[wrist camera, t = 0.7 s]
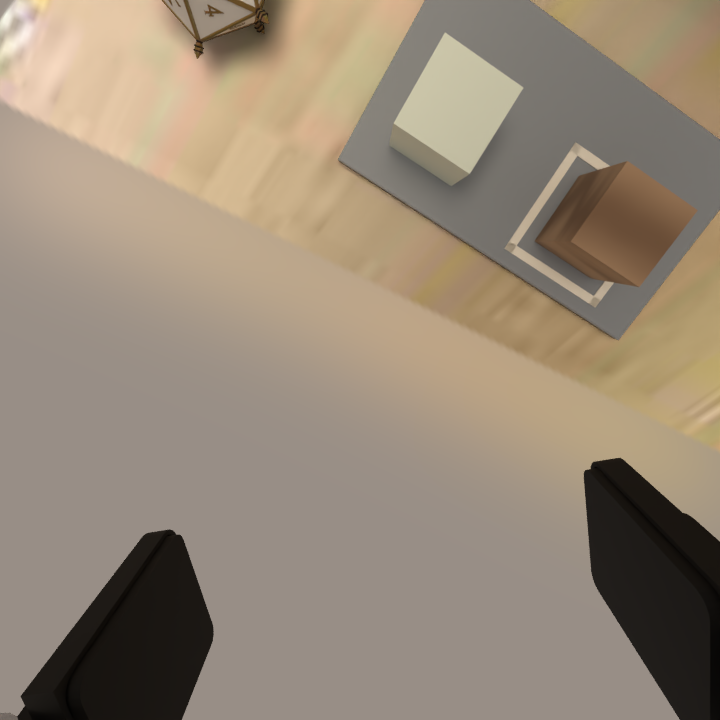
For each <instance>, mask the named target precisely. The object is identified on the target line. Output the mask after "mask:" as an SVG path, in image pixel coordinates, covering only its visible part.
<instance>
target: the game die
mask: <svg viewBox="0 0 720 720" xmlns="http://www.w3.org/2000/svg"><path fill="white" fill-rule="evenodd" d="M162 1H163V2H164V4H165V5H166V6H167V7H168V8H169V9H170V10H171V12H172V13H173V14H174V15H175V16H176V17H177V18H178V19H179V21H180V22H181V23H182V24H183V25H184V26H185V27H186V29H187V30H188V31H189V32H190V33H191V34H192V35H193V37H194V38H195V39H196V41H197V42H196V44H195V45H194V46H195V49H194V51H195V54H196V57H197V59H198V58H199V56H200V55H201V54H202V53H203V49H204V48H203V46H202V43H203V42H205V41H208V40H211V39H213V38H216V37H219V36H222V35H225V34H227V33H230V32H233V31H236V30H239V29H241V28H244V27H247V26H250V25H253V24H254V25H255V29H257V32H261V33H264V25H263V24H264V23H268V24H269V21H268V13H265V10H262V7H263V4H264V1H265V0H162ZM258 19H260V21H258ZM261 22H262V23H263V24H262V23H261Z"/></svg>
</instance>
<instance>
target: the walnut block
mask: <svg viewBox="0 0 720 720" xmlns="http://www.w3.org/2000/svg"><path fill="white" fill-rule="evenodd" d="M697 211H698V210H697V209H695V208H694V207H692V206H691V205H690V204H688V203H687V202H685V201H684V200H682V199H681V198H680V197H678V196H677V195H675V194H674V193H672V192H671V191H670V190H668V189H667V188H665V187H664V186H663V185H661V184H660V183H658V182H657V181H655V180H654V179H653V178H651V177H650V176H648V175H647V174H645V173H644V172H643V171H641V170H640V169H638V168H637V167H636V166H634V165H633V164H631V163H630V162H628V161H626V162H622V163H619V164H616V165H612V166H609V167H606V168H603V169H599V170H596V171H593V172H590V173H586V174H583V175H580V176H579V177H578V178H577V180H576V181H575V182H574V184H573V185H572V187H571V188H570V190H569V191H568V193H567V194H566V196H565V197H564V199H563V200H562V201H561V203H560V204H559V206H558V207H557V209H556V210H555V212H554V213H553V215H552V216H551V218H550V219H549V220H548V222H547V223H546V225H545V226H544V228H543V229H542V231H541V232H540V234H539V235H538V237H537V238H536V239H535V242H536V243H538V244H539V245H541V246H542V247H544V248H546V249H547V250H549V251H550V252H552V253H553V254H555V255H556V256H558V257H559V258H561V259H562V260H564V261H565V262H567V263H568V264H570V265H571V266H573V267H574V268H576V269H577V270H579V271H580V272H582V273H583V274H585V275H586V276H588V277H590V278H591V279H596V280H602V281H607V282H613V283H619V284H624V285H630V286H636V287H640V286H641V284H642V283H643V282H644V280H645V279H646V278H647V276H648V275H649V274H650V272H651V271H652V270H653V269H654V267H655V266H656V265H657V263H658V262H659V261H660V259H661V258H662V257H663V255H664V254H665V253H666V251H667V250H668V249H669V248H670V246H671V245H672V244H673V242H674V241H675V240H676V238H677V237H678V236H679V234H680V233H681V232H682V230H683V229H684V228H685V227H686V225H687V224H688V223H689V221H690V220H691V219H692V217H693V216H694V215H695V213H696V212H697Z"/></svg>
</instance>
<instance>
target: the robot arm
mask: <svg viewBox="0 0 720 720" xmlns="http://www.w3.org/2000/svg"><path fill="white" fill-rule="evenodd" d="M584 484H585V497H586V510H587V522H588V535H589V547H590V560H591V572H592V576H593V580H594V583H595V585H596V587H597V589H598V591H599V592H600V594H601V595H602V597H603V599H604V600H605V602H606V604H607V605H608V607H609V608H610V610H611V611H612V613H613V615H614V616H615V618H616V619H617V621H618V623H619V624H620V626H621V627H622V629H623V630H624V632H625V634H626V635H627V637H628V638H629V640H630V641H631V643H632V645H633V646H634V648H635V649H636V651H637V652H638V654H639V656H640V657H641V659H642V660H643V662H644V664H645V665H646V667H647V668H648V670H649V671H650V673H651V675H652V676H653V678H654V679H655V681H656V683H657V684H658V686H659V687H660V689H661V690H662V692H663V694H664V695H665V697H666V698H667V700H668V701H669V703H670V705H671V706H672V708H673V709H674V711H675V713H676V714H677V716H678V717H679V719H680V720H720V542H719V541H718V540H717V539H716V538H715V537H714V536H713V535H712V534H711V533H709V532H708V531H707V530H706V529H705V528H704V527H702V526H701V525H700V524H699V523H698V522H697V521H696V520H695V519H693V518H692V517H691V516H689V515H687V514H685V513H682V512H681V511H680V510H679V509H678V508H677V507H675V506H674V505H673V504H672V503H671V502H670V501H669V500H668V499H667V498H665V497H664V496H663V495H662V494H661V493H660V492H659V491H658V490H656V489H655V488H654V487H653V486H652V485H651V484H650V483H649V482H648V481H646V480H645V479H644V478H643V477H642V476H641V475H640V474H639V473H638V472H636V471H635V470H634V469H633V468H632V467H631V466H630V465H629V464H627V463H626V462H625V461H624V460H623V459H621V458H615V459H609V460H603V461H597V462H593V463H592V465H591V469H589V470H585V472H584ZM212 641H213V624H212V621H211V618H210V615H209V612H208V610H207V607H206V604H205V601H204V598H203V595H202V592H201V589H200V586H199V583H198V580H197V578H196V575H195V572H194V569H193V566H192V563H191V560H190V557H189V554H188V551H187V549H186V546H185V543H184V540H183V538H182V536H181V535H176V534H175V532H174V531H173V530H164V531H157V532H151V533H147V534H145V535H144V536H143V537H142V538H141V539H140V541H139V542H138V543H137V545H136V546H135V547H134V549H133V550H132V551H131V553H130V554H129V555H128V557H127V558H126V559H125V560H124V562H123V563H122V564H121V566H120V567H119V568H118V570H117V571H116V572H115V573H114V575H113V576H112V577H111V579H110V580H109V581H108V583H107V584H106V585H105V587H104V588H103V589H102V591H101V592H100V593H99V594H98V596H97V597H96V598H95V600H94V601H93V602H92V604H91V605H90V606H89V608H88V609H87V610H86V612H85V613H84V614H83V615H82V617H81V618H80V619H79V621H78V622H77V623H76V625H75V626H74V627H73V628H72V630H71V631H70V632H69V634H68V635H67V636H66V638H65V639H64V640H63V642H62V643H61V644H60V645H59V647H58V649H56V651H55V652H54V653H53V655H52V656H51V657H50V659H49V660H48V661H47V663H46V664H45V665H44V667H43V668H42V669H41V670H40V672H39V673H38V674H37V676H36V677H35V678H34V680H33V681H32V682H31V683H30V685H29V686H28V687H27V689H26V690H25V692H24V693H23V694H22V695H21V698H22V700H23V702H24V704H25V707H24V708H23V710H22V711H21V712H20V714H19V715H18V716H15V715H13V714H11V713H0V720H182V717H183V715H184V713H185V710H186V707H187V705H188V702H189V700H190V697H191V695H192V692H193V690H194V687H195V684H196V682H197V680H198V677H199V675H200V672H201V669H202V667H203V664H204V662H205V659H206V657H207V654H208V652H209V649H210V647H211V644H212Z"/></svg>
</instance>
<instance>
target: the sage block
mask: <svg viewBox="0 0 720 720" xmlns="http://www.w3.org/2000/svg"><path fill="white" fill-rule="evenodd" d="M522 89H523V87H522V86H521V85H519V84H518V83H516V82H515V81H513V80H512V79H511V78H509V77H508V76H506V75H505V74H503V73H502V72H501V71H499V70H498V69H496V68H495V67H494V66H492V65H491V64H489V63H488V62H486V61H485V60H484V59H482V58H481V57H479V56H478V55H476V54H475V53H474V52H472V51H471V50H469V49H468V48H467V47H465V46H464V45H462V44H461V43H459V42H458V41H457V40H455V39H454V38H452V37H451V36H450V35H448V34H447V33H444V35H443V37H442V39H441V40H440V42H439V44H438V46H437V47H436V49H435V51H434V53H433V54H432V56H431V58H430V60H429V62H428V63H427V65H426V67H425V69H424V70H423V72H422V74H421V76H420V77H419V79H418V81H417V83H416V84H415V86H414V88H413V90H412V92H411V93H410V95H409V97H408V99H407V100H406V102H405V104H404V106H403V107H402V109H401V111H400V113H399V114H398V116H397V118H396V120H395V122H394V123H393V128H392V133H391V138H390V143H389V146H391V147H392V148H394V149H395V150H397V151H398V152H400V153H401V154H403V155H404V156H406V157H407V158H409V159H410V160H412V161H414V162H415V163H417V164H418V165H420V166H421V167H423V168H424V169H426V170H427V171H429V172H430V173H432V174H433V175H435V176H436V177H438V178H439V179H441V180H442V181H444V182H445V183H447V184H448V185H450V186H452V185H454V184H455V183H457V182H458V181H460V180H461V179H463V178H465V177H466V176H468V175H469V174H470V173H471V171H472V170H473V168H474V166H475V165H476V163H477V162H478V160H479V158H480V157H481V155H482V154H483V152H484V150H485V149H486V147H487V146H488V144H489V142H490V141H491V139H492V138H493V136H494V134H495V133H496V131H497V130H498V128H499V126H500V125H501V123H502V122H503V120H504V118H505V117H506V115H507V113H508V112H509V110H510V109H511V107H512V105H513V104H514V102H515V101H516V99H517V97H518V96H519V94H520V93H521V91H522Z"/></svg>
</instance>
